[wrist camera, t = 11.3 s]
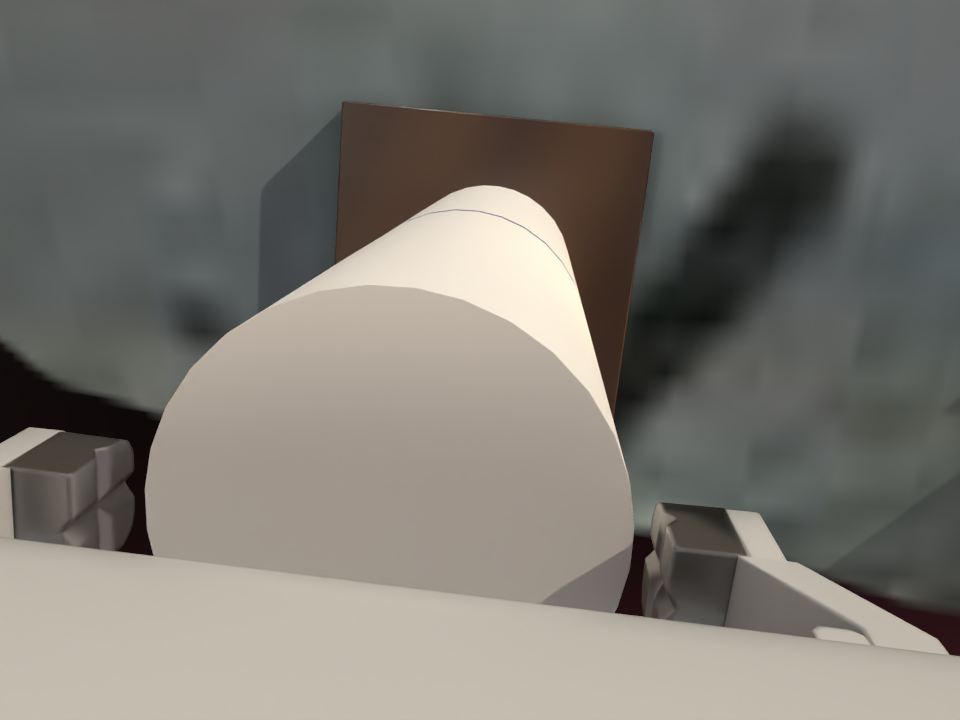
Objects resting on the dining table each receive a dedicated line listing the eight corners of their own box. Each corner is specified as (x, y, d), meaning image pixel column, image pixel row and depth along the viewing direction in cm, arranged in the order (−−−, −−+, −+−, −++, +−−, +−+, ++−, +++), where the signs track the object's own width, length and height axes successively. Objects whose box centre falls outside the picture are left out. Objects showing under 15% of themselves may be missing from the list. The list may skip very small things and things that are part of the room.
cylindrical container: (582, 199, 35) (681, 329, 11) (554, 361, 37) (585, 773, 13) (415, 173, 35) (155, 247, 11) (395, 335, 37) (136, 696, 13)
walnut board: (650, 131, 36) (655, 130, 34) (609, 419, 39) (611, 428, 38) (348, 101, 36) (342, 100, 35) (333, 389, 39) (327, 396, 38)
